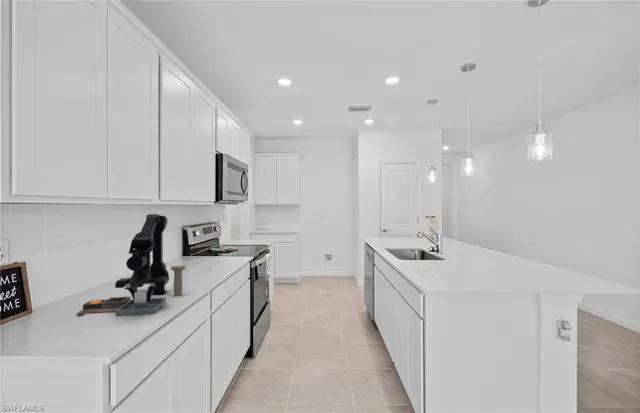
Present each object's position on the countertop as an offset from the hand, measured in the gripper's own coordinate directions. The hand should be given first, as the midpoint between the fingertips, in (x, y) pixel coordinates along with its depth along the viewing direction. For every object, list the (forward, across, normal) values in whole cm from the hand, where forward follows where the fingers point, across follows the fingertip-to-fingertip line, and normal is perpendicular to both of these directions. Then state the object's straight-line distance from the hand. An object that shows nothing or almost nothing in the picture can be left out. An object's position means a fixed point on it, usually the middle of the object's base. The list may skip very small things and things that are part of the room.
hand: (142, 302), depth 129 cm
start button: (+2, -20, +6) cm, 21 cm away
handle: (+4, +10, +18) cm, 21 cm away
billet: (+2, 0, 0) cm, 2 cm away
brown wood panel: (+4, -16, +6) cm, 17 cm away
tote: (+4, 0, 0) cm, 4 cm away
